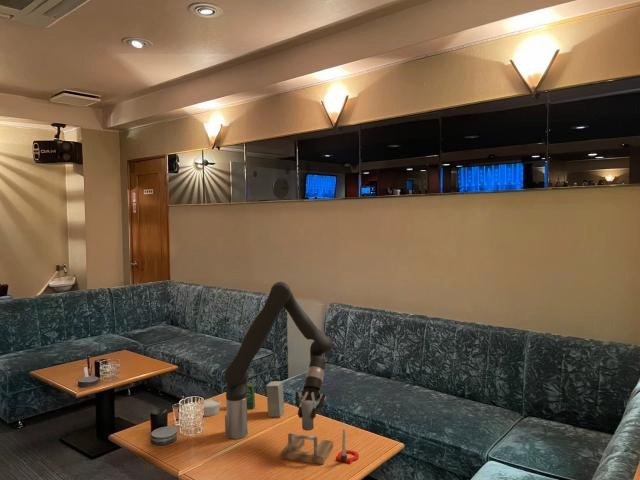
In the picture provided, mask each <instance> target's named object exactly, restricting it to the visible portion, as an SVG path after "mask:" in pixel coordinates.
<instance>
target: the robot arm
mask: <svg viewBox="0 0 640 480" xmlns="http://www.w3.org/2000/svg"><path fill="white" fill-rule="evenodd" d="M283 308H284V309H285V310H286V312H287V313H288V315H289V316H290V319H292V321H293V323H294V324H295V326H296V327H297V329H298V330H299V332H300V333H301V334H302V336H303V337H304V338H305V339H306V340H308V341H309V340H311V341H312V343H311V345H310V347H309V348H310V349H309V356H310V357H309V358H310V361H309V365H308V370H307V372H306V376H305V381H304V385H303V389H302V391H301V392H298V391H296V392H295V393H294V394H295V395H294V396H295V397H294V399H295V401H294V402H295V406H296V408H298V411H297V416H298V418H300V419H302V407H301V402H302V401H304V400H312V401H313V409H312V413H311V419H313V420H314V419H315V418H316V415H317V411H319V410H321V411H322V409H323V407H324V405H325V403H326V400H327V396H326V394H325V393H324V394H322V393H321V391H322V386H323V383H324V377H325V376H324V375H325V368H326V363H327V362H326V359H325V357H323V355H324V354H327V353H330V352H331V351H332V349H333V343H332V340H331V339H330V337H328V335H326V334H325V333H324V332H323V331H322V330H320V329H319V328H318V327H317V326H316V325H315V323H314V321H312V320H311V318H310V317H309V316H308V314H307V313H306V312H305V311H304V309H303V308H302V307H301V306H300V304H299V302H298V301H297V300H296V298H295V296H294V294H293V292H292V291H291V288H290V286H289V285H288V284H287V283H286V282H283V281H277V282H275V283H274V284H273V285H272V286H271V288H270V290H269V294H268V297H267V299H266V301H265V303H264V305H263V307H262V309H261V310H260V311H259V313H258V314H257V315H256V317H254V320H253V322H252V323H251V324H250V325H249V328H248V329H247V332H246V333H245V335H244V337H243V340H242V341H241V344H240V347H239V350H238V351H237V353H236V355H235V357H234V358H233V360H232V361H231V362H230V363H229V364H228V365H227V367H226V369H225V370H224V375H223V376H224V377H223V378H224V380H225V383H226V391H225V399H226V400H225V405H226V407H225V408H226V414H225V415H224V429H225V430H224V431H225V432H224V433H225V437H227V438H229V439H233V440H237V439H243V438H245V437H246V436H247V435H248V433H249V432H248V408H247V383H248V374H247V373H248V370H249V367H250V365H251V363H252V361H253V360H254V358H255V357H256V356H257V354H258V353H259V352H260V350H261V349H262V347H263V345H264V344H265V342H266V340H267V338H268V337H269V334H270V333H271V331H272V329H273V327H274V324H275V322H276V320H277V318H278V315H279V314H280V312H281V311H282V310H283ZM301 398H302V399H301ZM300 399H301V400H300ZM319 399H320V400H319ZM318 400H319V402H317V401H318ZM300 401H301V402H300Z"/></svg>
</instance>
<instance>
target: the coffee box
mask: <svg viewBox="0 0 640 480" xmlns="http://www.w3.org/2000/svg"><path fill="white" fill-rule="evenodd" d="M255 394H256V393H255V383H254V382H247V409H251V410H254V409H255V408H256V400H255V399H256V398H255V396H256V395H255Z"/></svg>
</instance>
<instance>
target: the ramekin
mask: <svg viewBox="0 0 640 480" xmlns="http://www.w3.org/2000/svg"><path fill="white" fill-rule="evenodd" d="M220 408H221V401H220V400H219V399H214V398H208V399H204V416H203V417H212V415H213V416H216V415H217V414H218V413H220Z"/></svg>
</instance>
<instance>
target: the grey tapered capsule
mask: <svg viewBox="0 0 640 480" xmlns="http://www.w3.org/2000/svg"><path fill="white" fill-rule="evenodd" d="M300 403H301V407H302V418H301V427H302V428H301V429H302V430H303V431H306V432H307V431H312V430H314V428H315V427H314V424H315V423H314V419H311V413H312V409H313V401H312V400H304V401H302V402H300Z"/></svg>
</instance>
